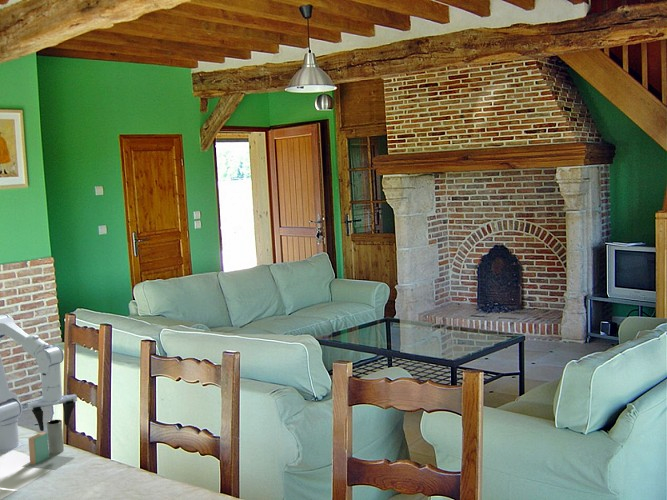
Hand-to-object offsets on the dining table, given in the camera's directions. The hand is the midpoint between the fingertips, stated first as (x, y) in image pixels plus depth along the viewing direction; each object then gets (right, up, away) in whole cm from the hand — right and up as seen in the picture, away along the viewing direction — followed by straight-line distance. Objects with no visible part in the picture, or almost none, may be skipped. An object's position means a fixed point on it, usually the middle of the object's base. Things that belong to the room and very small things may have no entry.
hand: (54, 427), depth 235 cm
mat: (0, -10, -4) cm, 11 cm away
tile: (-4, -10, -3) cm, 11 cm away
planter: (-1, -10, +5) cm, 11 cm away
